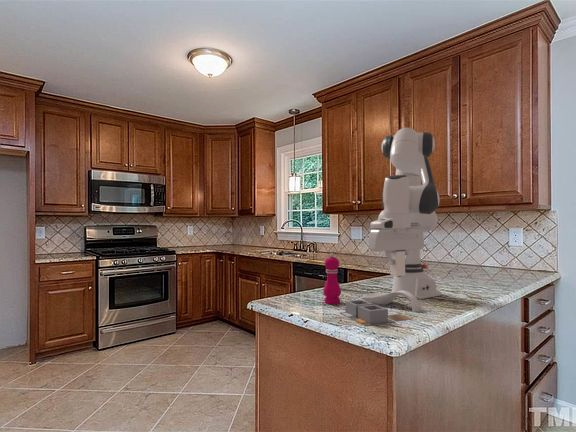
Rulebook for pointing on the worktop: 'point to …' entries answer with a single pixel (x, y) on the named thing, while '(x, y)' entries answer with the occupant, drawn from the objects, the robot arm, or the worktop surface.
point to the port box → (366, 313)
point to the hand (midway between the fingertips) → (397, 264)
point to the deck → (398, 317)
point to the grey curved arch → (388, 298)
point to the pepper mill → (332, 281)
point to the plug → (398, 263)
